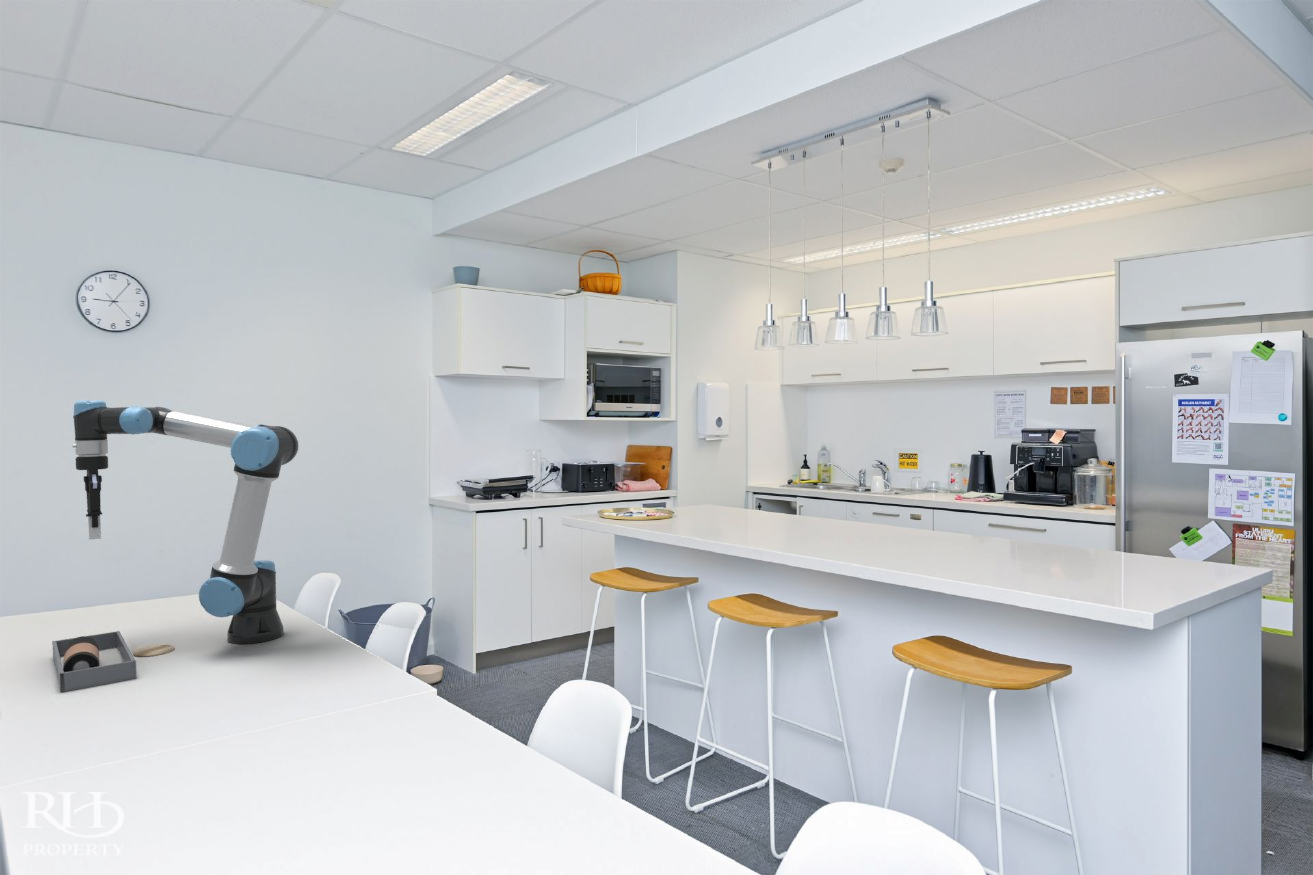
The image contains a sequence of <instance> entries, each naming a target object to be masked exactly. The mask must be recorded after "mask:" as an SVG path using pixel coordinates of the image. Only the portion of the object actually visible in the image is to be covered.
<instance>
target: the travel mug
mask: <svg viewBox="0 0 1313 875" xmlns="http://www.w3.org/2000/svg"><path fill="white" fill-rule="evenodd" d="M87 636H88V635H84V636H83V635H82V636H77V637H74V638H75V639H73V640H72V641H71V642H70V643H69V644H68V645H67V648H66V651H65V655H64V656H63V661H62V662H63V663H62V667H63V671H64V672H70V671H76V670H81V669H87V668H93V667H99V666H100V650H99V649H98V645H97V642H96V641H95V640H94V639H93V638H91V637H87Z"/></svg>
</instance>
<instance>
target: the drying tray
mask: <svg viewBox="0 0 1313 875" xmlns="http://www.w3.org/2000/svg"><path fill="white" fill-rule="evenodd" d="M86 636H87V637H91V638H93V639H94V640H95V641H96V642H97V645H98V649H99V651H103V650H104V651H105V650H110V649H116V648H117V650H118V653H119V654H120V656H121V658H122V660H123V662H122V661H121V662H115V663H112V664H111V663H110V664H105V665H99V667H93V668H87V669H81V670H76V671H70V672H64V671H63V663H62V661H61V660H62V659H61V657H64V655H65V651H66V648H67V645H68V644H69V643H70V642H71V641H72V640H73V639H75V638H76V637H71V638H65V639H57V640H52V644H51V645H52V658H53V663H54V667H55V673H56V676H57V677H56V678H57V682H58V685H59V686H58V687H59V691H60V693H64V692H71V691H76V690H81V689H86V688H91V687H96V686H101V685H106V684H114V683H118V682H123V681H128V680H133V679H137V660H136V659H135V656H133V652H132V651H131V650H130V648H129V646H128V645H127V642H126V640H125V638H124V636H123V635H122V633H121V631H120V630H117V631H111V632H103V633H97V634H90V635H86Z"/></svg>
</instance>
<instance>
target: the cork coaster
mask: <svg viewBox="0 0 1313 875" xmlns="http://www.w3.org/2000/svg"><path fill="white" fill-rule="evenodd" d="M174 650H175V646H174V645H172V644H156V645H154V644H153V645H148V646H145V647H144V646H143V647H141V648H138V649H136V650H134V651H132V655H133V657H136V658H148V657H149V658H151V657H157V656H162V655H167V654H168V653H171V652H173V651H174Z"/></svg>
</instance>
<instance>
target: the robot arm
mask: <svg viewBox="0 0 1313 875" xmlns="http://www.w3.org/2000/svg"><path fill="white" fill-rule="evenodd" d="M72 418H73V426H74V444H72V445H71V446H72V448H74V449H75V455H77V456H76V458H75V469H76V470H77V471H86V476H85V475H84V476H83V482H84V490H85V492H86V505H87V508H86V512H87V513H86V514H85V517H87V519H88V525H87V526H88V540H90V541H91V540H99V539H102V530H101V527H102V526H101V515H103V512H102V510H101V507H102V506H101V491H102V482H103V476H102V475H99V470H106V469H108V468H109V457H108V453H109V444H108V435H140V434H150V433H151V434H159V435H164V436H169V437H175V438H180V439H185V440H190V441H193V442H194V441H195V442H200V443H204V444H205V443H206V444H210V445H215V446H220V447H225V448H230V456H231V458H232V460H233V462H234V466H233V472H234V473H235V475H236V476H237V481H236V485H235V492H234V495H233V499H232V504H231V507H230V513H229V518H228V522H227V525H226V526H227V527H226V531H225V536H224V540H223V545H222V550H221V553H220V558H219V560H217V561H215V562H214V563H212V566H211V571H210V575H209V578H208V579H207V580H205V581H204V582H203V583H202V585H200V588H199V591H198V601H199V603H200V605H201V607H202V608H203V609H204V611H205V612H206V613H208V614H209V615H211V616H213V617H215V618H227V617H230V616H232V617H231V620H230V624H229V627H228V630H227V633H226V634H227V635H226V636H227V642H228V643H230V644H237V645H238V644H239V645H242V644H244V645H245V644H246V645H247V644H256V643H263V642H268V641H273V640H275V639H278V638H280V637H282V636H283V635H284V632H285V631H284V625H283V622H282V619H281V618H280V615H279V612H278V609H277V582H276V579H277V576H276V575H277V571H276V564H275V562H274V561H272V560H255V558H256V553H257V549H258V545H259V540H260V535H261V532H262V527H263V523H264V518H265V514H266V509H267V504H268V499H269V496H270V491H271V486H272V483H273V482H274V481H276V480H277V479H279V477H280V473H281V469H282V466H284V465H287V464H288V463H290V462H292V461H293V459H295V457H296V455H297V454H298V451H299V440H298V438H297V436H296V434H295V433H294V432H293V431H292V430H291V429H289V428H287V427H284V426H280V425H279V426H278V425H267V424H262V423H261V424H257V425H256V426H254V425H248V424H244V423H243V424H242V423H238V422H234V421H233V422H232V421H228V420H223V419H217V418H212V417H207V416H202V415H198V414H197V415H196V414H191V413H188V412H187V413H186V412H182V411H178V410H177V411H176V410H173V409H170V408H167V407H161V406H154V407H152V406H150V407H143V406H141V407H139V406H128V407H125V406H124V407H121V406H119V407H107V403H106V402H105V401H104V400H78V401H76V402H75V403H74V404H73V417H72Z"/></svg>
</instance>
